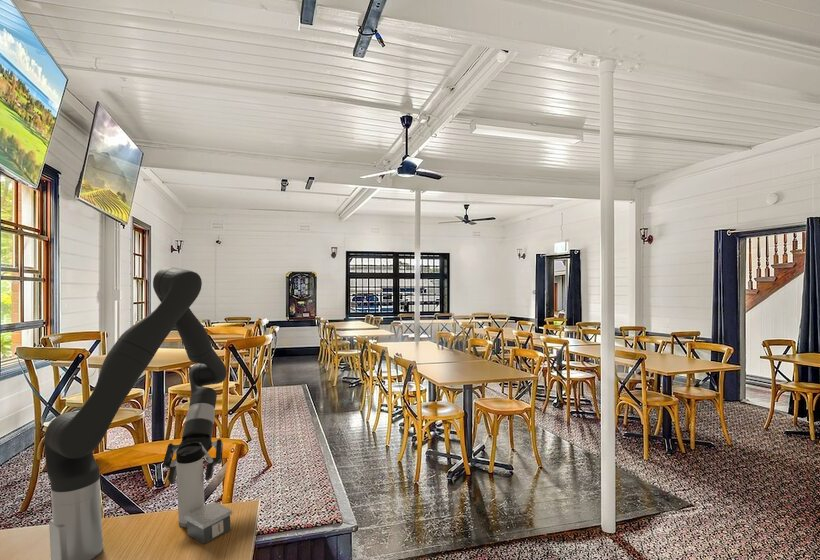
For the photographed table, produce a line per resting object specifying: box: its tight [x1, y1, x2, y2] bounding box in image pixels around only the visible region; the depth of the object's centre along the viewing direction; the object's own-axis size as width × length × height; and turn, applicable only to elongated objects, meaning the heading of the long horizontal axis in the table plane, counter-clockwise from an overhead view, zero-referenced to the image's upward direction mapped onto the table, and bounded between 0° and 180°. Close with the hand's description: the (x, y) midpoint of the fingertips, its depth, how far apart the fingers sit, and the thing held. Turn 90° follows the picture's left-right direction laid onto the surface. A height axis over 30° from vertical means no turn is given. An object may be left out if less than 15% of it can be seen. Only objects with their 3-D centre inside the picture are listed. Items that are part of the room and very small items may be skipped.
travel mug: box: [175, 442, 206, 528], centre depth 121 cm, size 6×7×20 cm
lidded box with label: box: [184, 501, 233, 545], centre depth 116 cm, size 8×8×5 cm
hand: (189, 481), depth 120 cm, fingers open, 8 cm apart
